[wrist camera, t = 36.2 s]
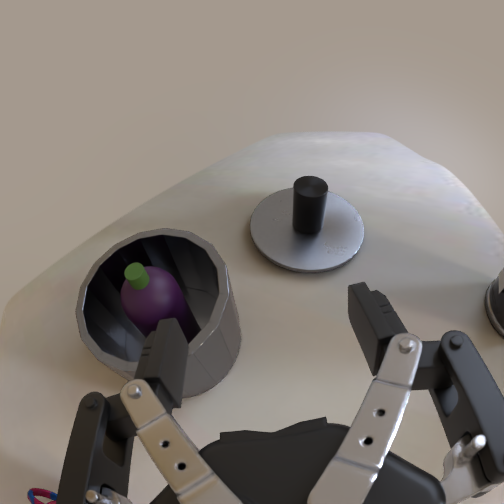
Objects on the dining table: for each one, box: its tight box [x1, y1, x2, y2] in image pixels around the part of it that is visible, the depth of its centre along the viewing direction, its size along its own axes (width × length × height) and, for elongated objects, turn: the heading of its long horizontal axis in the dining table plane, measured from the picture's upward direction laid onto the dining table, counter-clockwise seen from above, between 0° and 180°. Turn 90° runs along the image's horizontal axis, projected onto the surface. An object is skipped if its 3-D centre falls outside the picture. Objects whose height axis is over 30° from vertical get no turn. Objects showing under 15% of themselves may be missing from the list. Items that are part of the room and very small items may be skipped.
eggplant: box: [120, 263, 201, 344], centre depth 25 cm, size 5×5×12 cm
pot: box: [76, 228, 241, 398], centre depth 27 cm, size 14×14×10 cm
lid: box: [250, 176, 364, 273], centre depth 36 cm, size 15×15×7 cm
